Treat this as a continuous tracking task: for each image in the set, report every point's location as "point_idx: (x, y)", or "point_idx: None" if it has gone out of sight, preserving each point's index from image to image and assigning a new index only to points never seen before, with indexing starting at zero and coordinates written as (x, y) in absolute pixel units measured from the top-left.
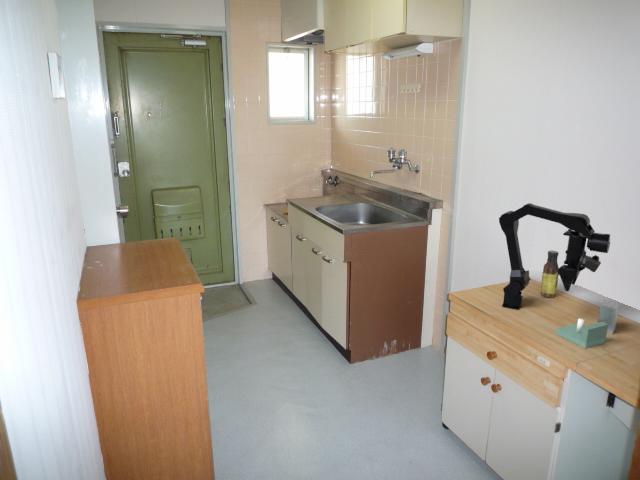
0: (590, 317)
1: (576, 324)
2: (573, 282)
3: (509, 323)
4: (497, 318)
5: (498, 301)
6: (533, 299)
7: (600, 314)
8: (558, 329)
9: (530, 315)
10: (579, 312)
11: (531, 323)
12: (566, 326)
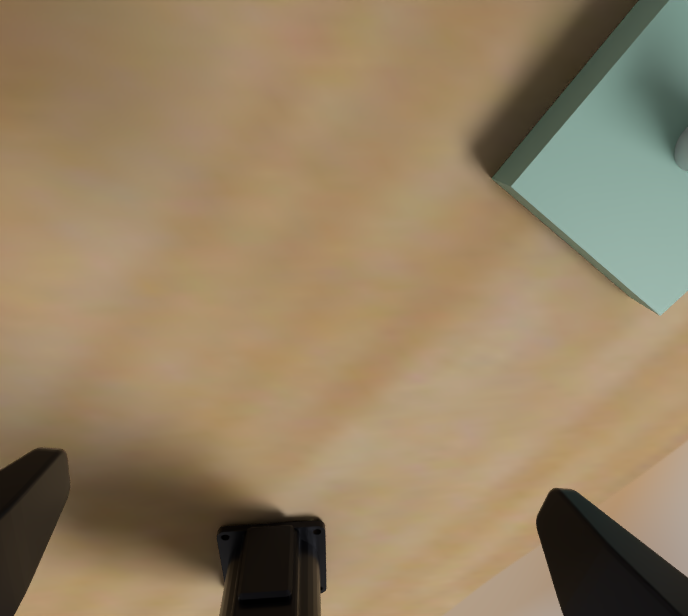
0: (127, 36)
1: (524, 174)
2: (44, 499)
3: None
4: (504, 566)
5: None
6: None
7: None
8: (671, 298)
9: (375, 456)
10: (65, 150)
11: (507, 433)
12: (598, 250)
